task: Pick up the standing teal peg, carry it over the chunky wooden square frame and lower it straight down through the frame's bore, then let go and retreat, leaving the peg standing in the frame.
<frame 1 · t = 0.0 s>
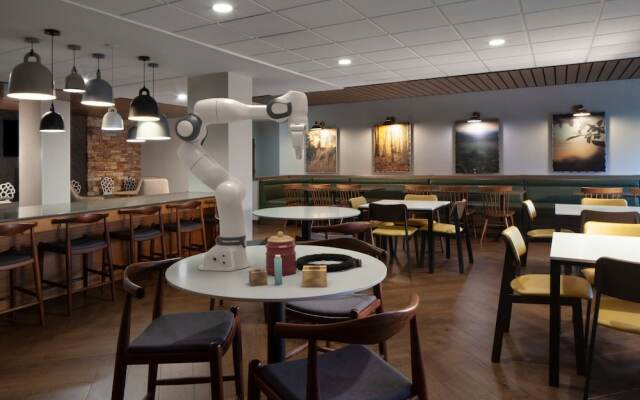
hand: (298, 159, 204), 48 cm above the table, tool pointing down, fingers open, 8 cm apart
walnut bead: (258, 283, 178), on the table
cable lock: (328, 267, 208), on the table
teal peg: (278, 283, 177), on the table
canister: (281, 272, 196), on the table
wooden square frame: (314, 283, 177), on the table
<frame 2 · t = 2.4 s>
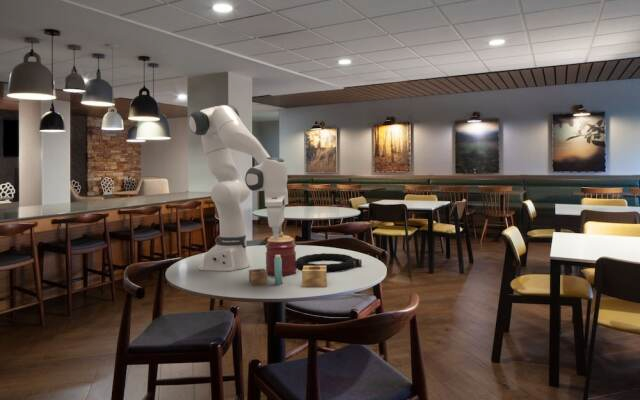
hand: (277, 236, 176), 19 cm above the table, tool pointing down, fingers open, 8 cm apart
nothing on the table moved.
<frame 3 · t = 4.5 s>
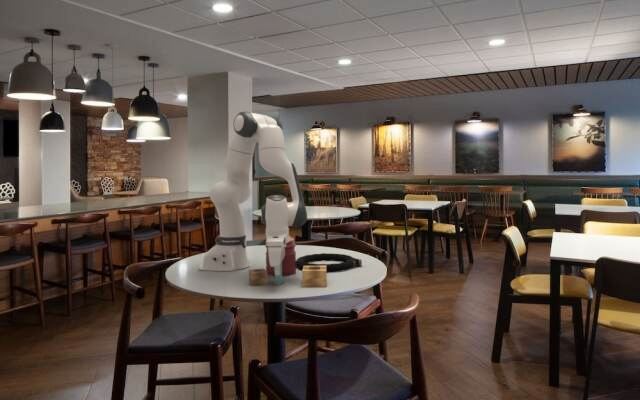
hand: (278, 273, 177), 4 cm above the table, tool pointing down, fingers closed on teal peg, 3 cm apart
teal peg: (278, 283, 177), on the table, touching gripper
everything else where it was.
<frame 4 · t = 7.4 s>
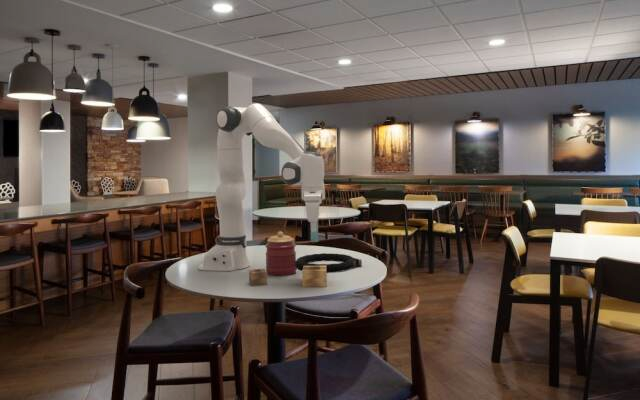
hand: (314, 230, 175), 20 cm above the table, tool pointing down, fingers closed on teal peg, 3 cm apart
teal peg: (314, 241, 176), point 16 cm above the table, touching gripper
everything else where it was.
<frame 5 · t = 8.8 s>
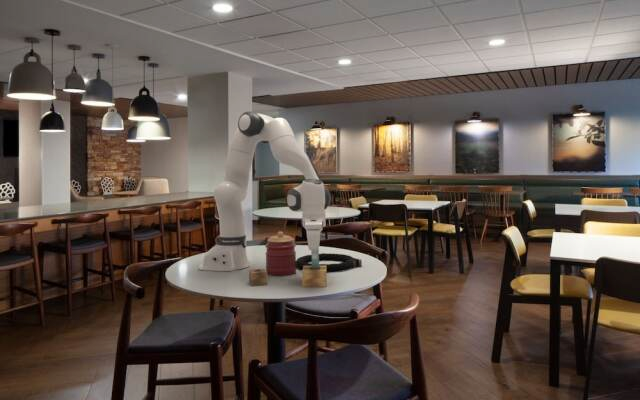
hand: (314, 257, 176), 10 cm above the table, tool pointing down, fingers closed on teal peg, 3 cm apart
teal peg: (315, 268, 176), point 6 cm above the table, touching gripper
everything else where it was.
when the fingers open (7 cm above the table, at t = 10.1 s): teal peg drops 2 cm, resting in wooden square frame.
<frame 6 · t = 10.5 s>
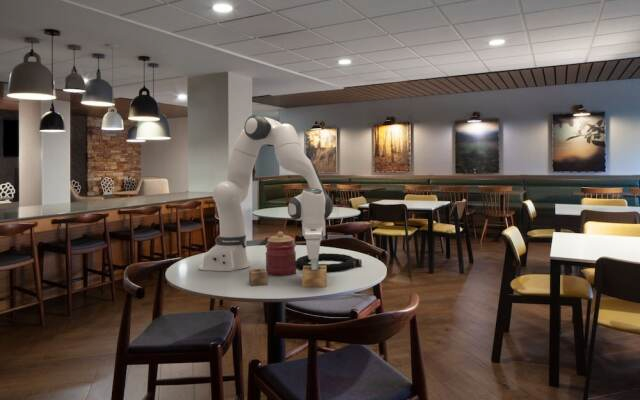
hand: (314, 266, 176), 7 cm above the table, tool pointing down, fingers open, 7 cm apart
teal peg: (315, 283, 177), resting in wooden square frame
everything else where it was.
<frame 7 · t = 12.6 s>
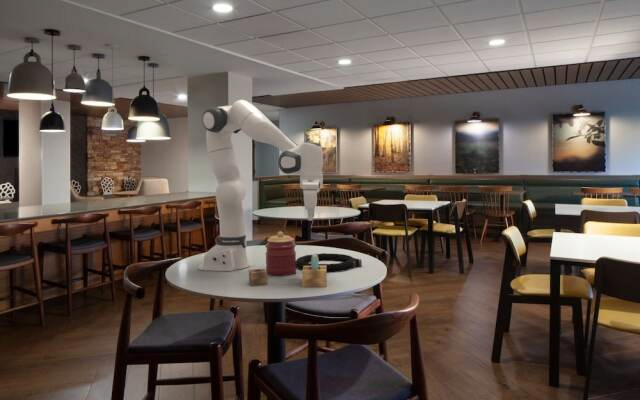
hand: (311, 218, 180), 24 cm above the table, tool pointing down, fingers open, 8 cm apart
nothing on the table moved.
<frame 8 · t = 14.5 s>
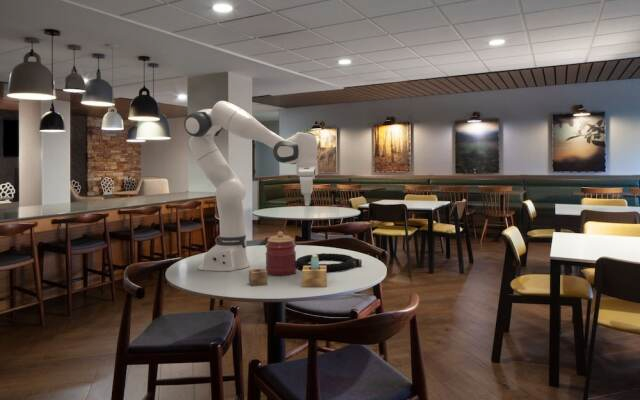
hand: (307, 204, 191), 29 cm above the table, tool pointing down, fingers open, 8 cm apart
nothing on the table moved.
at the end: teal peg 0.1 cm off-centre on the wooden square frame, point 0.0 cm above the wooden square frame's base; teal peg tilted 1°; the gripper is holding nothing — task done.
